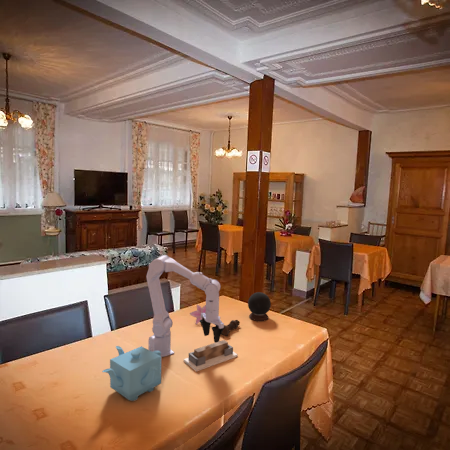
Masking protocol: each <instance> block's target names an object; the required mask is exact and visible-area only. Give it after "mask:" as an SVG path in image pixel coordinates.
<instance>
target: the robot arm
mask: <svg viewBox="0 0 450 450" xmlns="http://www.w3.org/2000/svg"><path fill="white" fill-rule="evenodd" d="M164 272H165V273H168V272H174V273H176V274H178V275H180V276H182V277H184V278H186V279H188V280H189V282H190V285H191V284H192V285H193V286H195V287H196V288H197V289H200V290H201V291H204V293H205V295H206V296H205V297H206V298H205V305H206V313H201V318H202V320H200V322H199V323H200V325H201V327H202V333H203V335H204V337H207V336H209V335H210V332H211V331H212V334H213V343H216V342H219V341H220V339H221V336H222V335H221V333H222V331H223V330H224V328H225V326H224V325H225V324H224V322H222V320H221V316H220V315H219V313H220V310H219V309H220V290H221V283H220V282H219V281H218V279H213V278H211V277H210V278H209V277H208V276H206V275H204V272H201V271H200V272H199V271H196V272H193V271H191V269H189V268H187V267H186V266H184V265H182V264H181V263H179V262H178V261H176V260H175V259H174V258H172V257H170V256H168V255H166V254H162V255H160V256H159V257H156V258H155V259H152V261H151V262H150V263H149V264H148V270H147V273H146V283H147V287H148V291H149V296H150V300H151V301H150V302H151V305H152V312H153V319H152V324H153V325H152V328H151V329H152V333H153V335H151V336H150V337H148V350H150V351H152V352H153V351H160V352H161V358H163V357H164V358H165V357H168V356H170V355H174V354H175V351H173V350H172V349H171V342H172V340H171V339H172V338H171V337H172V336H171V335H172V334H171V333H172V332H171V328H172V327H173V319H172V317H170V313H169V312H168V311H167V310H166V304H165V300H164V295H163V290H162V284H161V281H160V277H161V275H162V274H163V273H164ZM211 324H213V325H214V326H211ZM210 330H211V331H210Z"/></svg>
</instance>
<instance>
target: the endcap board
mask: <svg viewBox="0 0 450 450" xmlns="http://www.w3.org/2000/svg"><path fill="white" fill-rule="evenodd" d="M238 356H239V355H238V353H236V352H235V351H234V347H233V346H231V345H230V344H229V343H228V348H226V349H224V354H223V355H221V356H218V357H215V358H212V359H209V360H206V357H205V356H203V357H200V358H197V357H195V356H194V351H192V352H188V357H186V358H183V362H184V363H185V364H186V365H187V366H188V367H190V368H191V369H193V370H194V371H195V372H199V371H202V370H204V369H207V368H209V367H213V366H215V365H218V364H220V363H223V362H224V363H225V362H227V361H228V360H232V359H235V358H237V357H238ZM205 360H206V361H205Z"/></svg>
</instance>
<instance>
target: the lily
mask: <svg viewBox="0 0 450 450" xmlns="http://www.w3.org/2000/svg"><path fill="white" fill-rule="evenodd" d="M201 313H206V304H205V305H203V306H200V305H199V304H196V310H194V311H192V312H190V313H189V316H192V317H194V318H195V325H197V324H199V323H200V320H202V318H201Z"/></svg>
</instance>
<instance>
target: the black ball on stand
mask: <svg viewBox="0 0 450 450" xmlns="http://www.w3.org/2000/svg"><path fill="white" fill-rule="evenodd" d="M271 306H272V302H271V299H270V297H269V296H268V295H267V294H266V293H264V292H260V291H257V292H254V293H252V294H251V295H250V296H249V298H248V300H247V307H248V310H249V311H250V312H251V313H250V314H249V316H248V318H249V320H251V321H253V322H266V321H268V320H269V316H268V313H269V311H270V310H271Z"/></svg>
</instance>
